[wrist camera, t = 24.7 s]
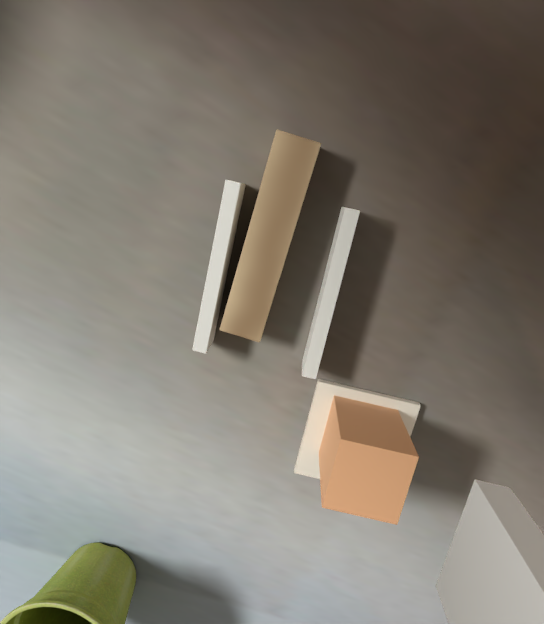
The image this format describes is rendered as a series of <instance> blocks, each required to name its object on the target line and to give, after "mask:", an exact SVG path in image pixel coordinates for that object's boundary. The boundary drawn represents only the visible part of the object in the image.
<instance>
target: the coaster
mask: <svg viewBox="0 0 544 624" xmlns="http://www.w3.org/2000/svg"><path fill="white" fill-rule="evenodd" d="M334 395H335V396H339V397H344V398H348V399H352V400H357V401H361V402H366V403H370V404H374V405H379V406H383V407H387V408H392V409H396V410H398V411H399V413H400V416H401V418H402V420H403V422H404V425H405V427H406V429H407V431H408V434H409V436H410V437H411V434H412V431H413V428H414V425H415V422H416V419H417V416H418V413H419V409H420V406H421V405H420V403H419V402H415V401H411V400H407V399H402V398H398V397H394V396H390V395H385V394H381V393H377V392H373V391H368V390H364V389H360V388H356V387H351V386H347V385H343V384H339V383H334V382H330V381H326V380H322V379H318V380H317V384H316V388H315V392H314V395H313V399H312V403H311V407H310V410H309V414H308V418H307V422H306V426H305V429H304V433H303V437H302V441H301V445H300V448H299V452H298V456H297V460H296V463H295V467H294V473H297V474H301V475H305V476H309V477H314V478H318V479H320V467H319V450H320V446H321V442H322V438H323V435H324V431H325V427H326V423H327V420H328V416H329V412H330V408H331V405H332V401H333V397H334Z"/></svg>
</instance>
